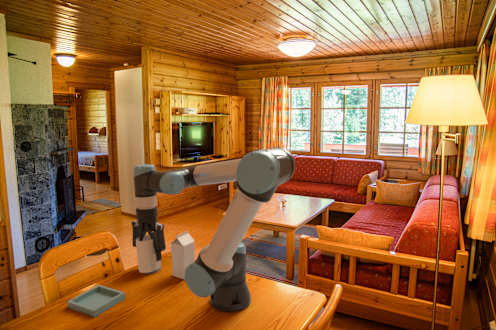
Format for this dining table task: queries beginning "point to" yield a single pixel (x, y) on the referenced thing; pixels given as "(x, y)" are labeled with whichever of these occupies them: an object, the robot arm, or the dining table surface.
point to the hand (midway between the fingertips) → (150, 266)
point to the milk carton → (182, 254)
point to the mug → (145, 254)
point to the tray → (96, 300)
